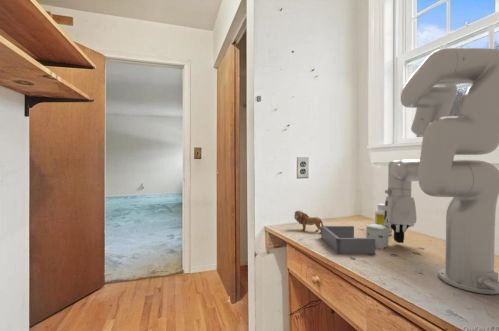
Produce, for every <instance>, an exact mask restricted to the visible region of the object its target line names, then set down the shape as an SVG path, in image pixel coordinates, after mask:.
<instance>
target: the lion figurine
mask: <svg viewBox="0 0 499 331" xmlns="http://www.w3.org/2000/svg"><path fill="white" fill-rule="evenodd" d="M293 216H294V219H295V221H296V222H298V224H299V225H302V229H301V232H305V231H306V229H307V228H306V227H307V226H313V225H315V227H316V228H317V229H315V232H319V231H320V232H319V233H318V234H320V235H321V226H324V222H323V221H322V219H321V218H319V217H318V216H314V217H311V216H309V215H308V214H307V213H305V212H303V211H302V210H296V211H294V215H293Z"/></svg>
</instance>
